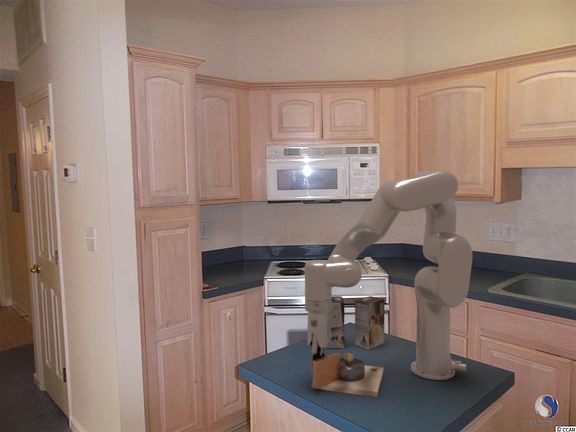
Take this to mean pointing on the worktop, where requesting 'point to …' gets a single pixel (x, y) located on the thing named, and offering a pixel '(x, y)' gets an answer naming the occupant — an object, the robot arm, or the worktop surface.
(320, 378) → the cam dial
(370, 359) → the worktop surface
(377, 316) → the coffee box
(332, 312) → the coffee box
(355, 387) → the dial board
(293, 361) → the worktop surface
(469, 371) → the worktop surface
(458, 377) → the worktop surface
